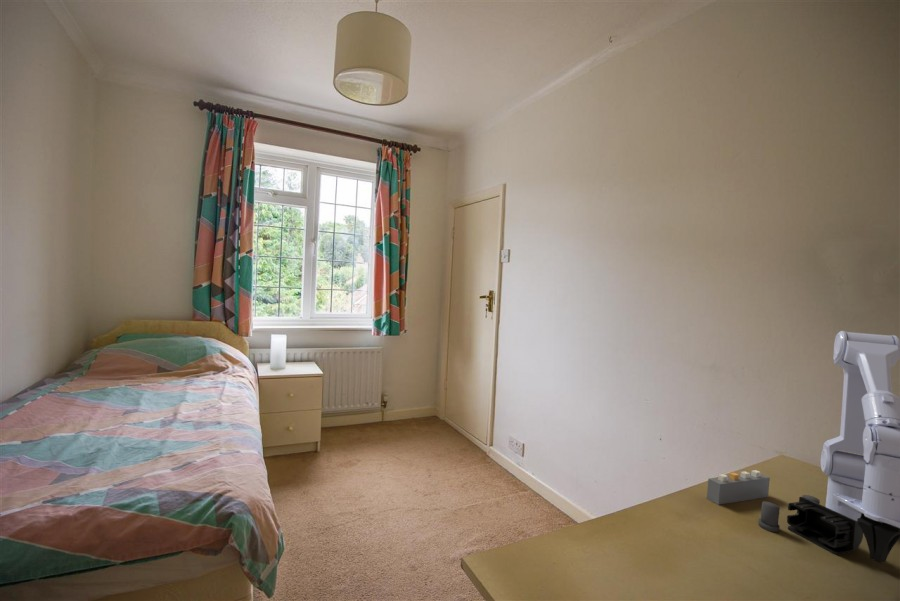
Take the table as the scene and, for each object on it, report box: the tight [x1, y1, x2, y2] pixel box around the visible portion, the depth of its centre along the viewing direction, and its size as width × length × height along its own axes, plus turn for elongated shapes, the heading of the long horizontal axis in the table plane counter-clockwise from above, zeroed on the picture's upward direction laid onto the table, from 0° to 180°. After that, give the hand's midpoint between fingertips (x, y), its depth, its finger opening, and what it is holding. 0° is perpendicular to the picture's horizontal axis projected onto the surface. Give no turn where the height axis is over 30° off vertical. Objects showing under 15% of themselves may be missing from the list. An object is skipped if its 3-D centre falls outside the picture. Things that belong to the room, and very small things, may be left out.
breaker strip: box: [706, 469, 771, 505], centre depth 102 cm, size 18×3×6 cm, turn 110°
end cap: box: [786, 496, 864, 556], centre depth 85 cm, size 10×7×7 cm
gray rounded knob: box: [757, 500, 781, 533], centre depth 89 cm, size 4×4×5 cm
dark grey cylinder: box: [801, 494, 821, 504], centre depth 93 cm, size 4×4×5 cm
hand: (878, 560), depth 77 cm, fingers closed
